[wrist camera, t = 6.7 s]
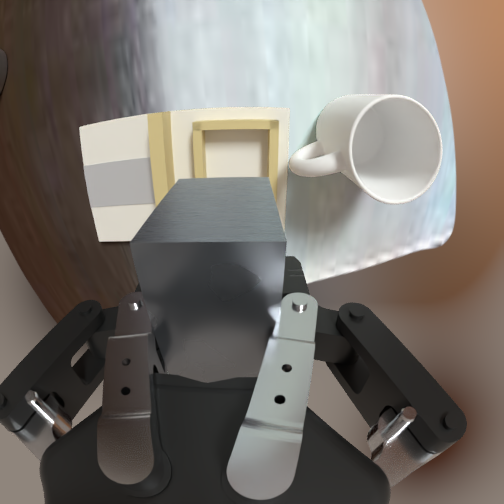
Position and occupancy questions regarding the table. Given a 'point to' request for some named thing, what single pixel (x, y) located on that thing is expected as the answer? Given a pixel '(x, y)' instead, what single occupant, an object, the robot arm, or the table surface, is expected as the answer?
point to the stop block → (213, 275)
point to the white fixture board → (178, 159)
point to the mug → (375, 146)
